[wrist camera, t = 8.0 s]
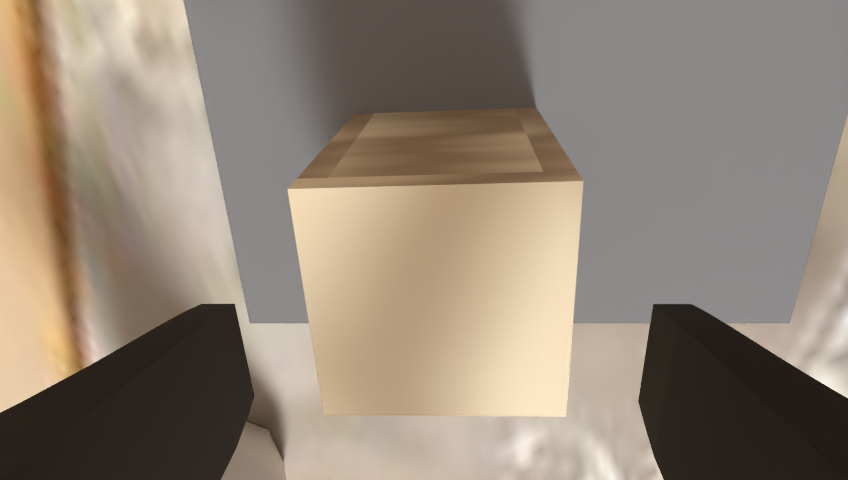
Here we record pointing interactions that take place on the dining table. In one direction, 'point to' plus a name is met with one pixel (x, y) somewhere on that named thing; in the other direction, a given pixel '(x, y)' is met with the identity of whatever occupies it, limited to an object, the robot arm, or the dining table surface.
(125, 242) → the dining table surface
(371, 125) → the wood block
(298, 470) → the dining table surface
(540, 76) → the slate mat
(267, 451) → the salt shaker
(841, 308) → the dining table surface
